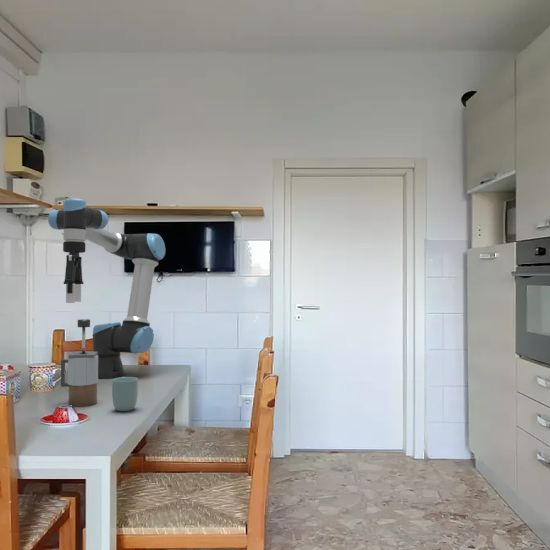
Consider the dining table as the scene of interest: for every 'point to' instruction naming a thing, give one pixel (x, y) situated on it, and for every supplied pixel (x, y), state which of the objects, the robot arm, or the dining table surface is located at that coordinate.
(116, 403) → the cup
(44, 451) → the dining table surface
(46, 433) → the dining table surface
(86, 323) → the plunger
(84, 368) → the carafe
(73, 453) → the dining table surface
